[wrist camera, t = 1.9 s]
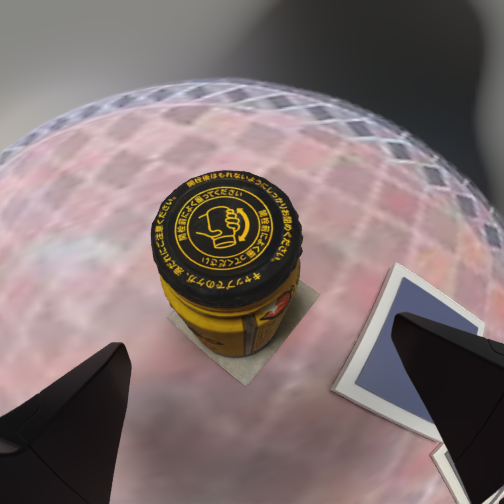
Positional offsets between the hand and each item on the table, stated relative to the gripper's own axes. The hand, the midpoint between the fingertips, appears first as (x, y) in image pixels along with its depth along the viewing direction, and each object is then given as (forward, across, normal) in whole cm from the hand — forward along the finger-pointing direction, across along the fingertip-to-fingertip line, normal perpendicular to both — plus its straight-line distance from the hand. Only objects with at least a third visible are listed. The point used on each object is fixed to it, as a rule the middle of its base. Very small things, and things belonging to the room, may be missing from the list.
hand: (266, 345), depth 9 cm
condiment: (+11, 0, +5) cm, 12 cm away
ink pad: (+7, -13, +9) cm, 17 cm away
